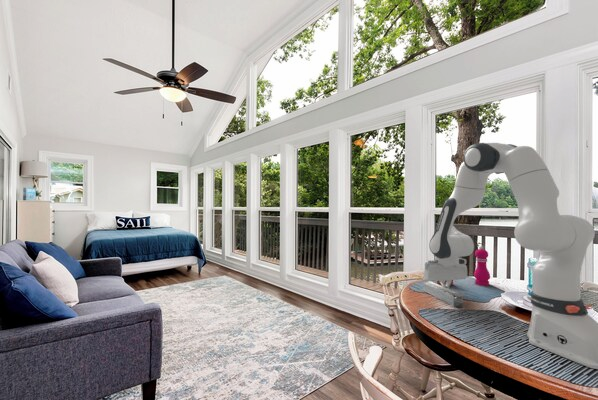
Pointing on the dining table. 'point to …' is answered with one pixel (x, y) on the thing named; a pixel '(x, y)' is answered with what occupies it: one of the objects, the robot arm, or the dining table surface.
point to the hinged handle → (448, 290)
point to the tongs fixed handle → (443, 295)
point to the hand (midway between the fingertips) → (445, 289)
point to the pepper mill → (481, 268)
